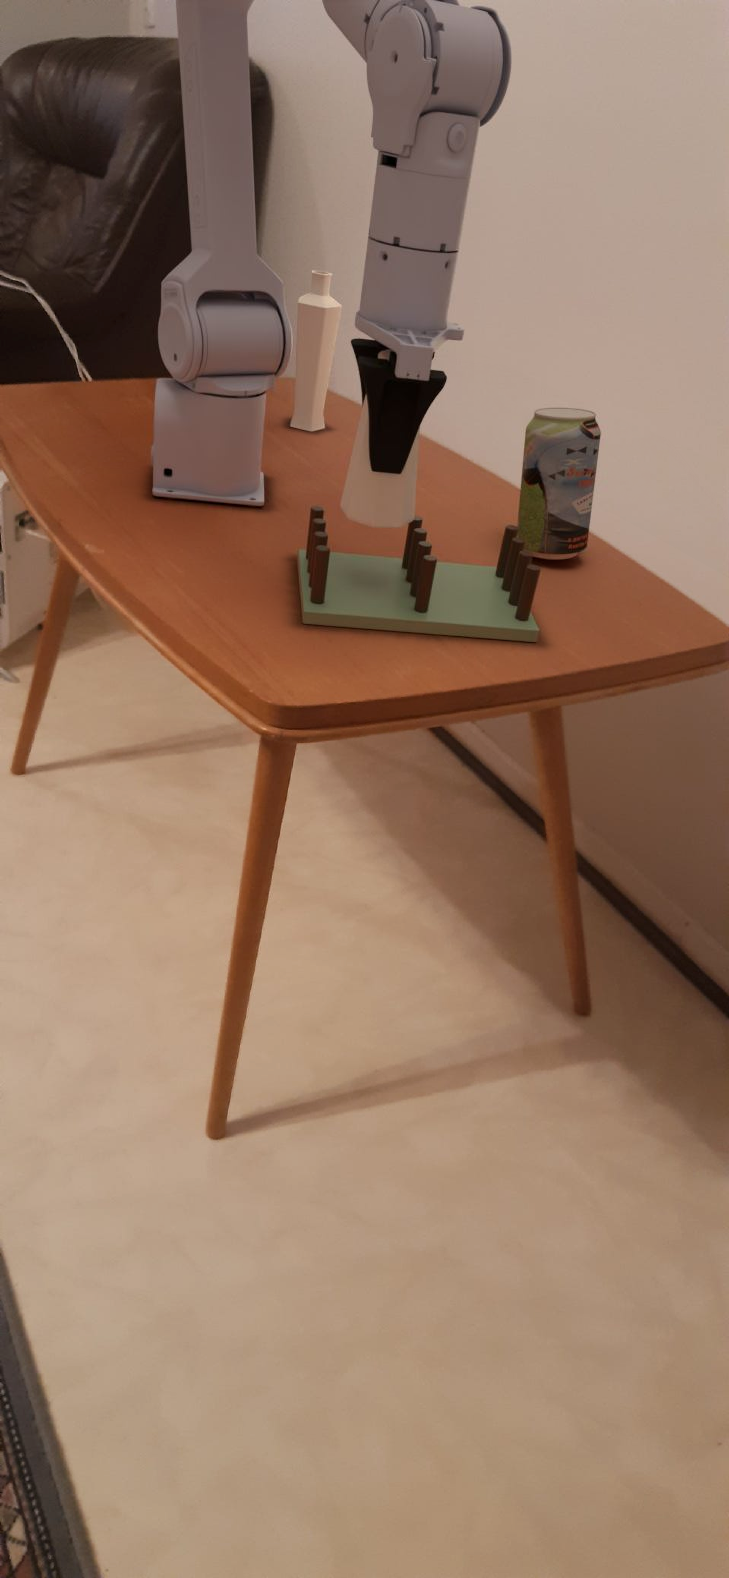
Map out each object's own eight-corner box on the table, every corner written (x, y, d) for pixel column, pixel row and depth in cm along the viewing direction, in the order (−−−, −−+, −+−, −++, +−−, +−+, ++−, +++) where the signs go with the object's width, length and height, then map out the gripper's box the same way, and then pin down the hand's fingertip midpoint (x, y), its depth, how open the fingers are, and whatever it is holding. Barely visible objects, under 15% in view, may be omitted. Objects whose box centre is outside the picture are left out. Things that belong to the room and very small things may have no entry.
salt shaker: (324, 506, 74) (342, 344, 67) (382, 497, 77) (404, 342, 70) (370, 533, 70) (394, 366, 64) (429, 524, 74) (457, 363, 67)
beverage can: (566, 575, 85) (604, 430, 78) (488, 548, 88) (518, 405, 81) (593, 556, 90) (632, 416, 83) (518, 530, 92) (549, 393, 86)
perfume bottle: (327, 434, 108) (344, 280, 100) (286, 429, 108) (299, 273, 100) (329, 422, 112) (346, 272, 104) (289, 417, 112) (302, 265, 103)
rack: (302, 624, 71) (309, 556, 69) (296, 560, 80) (303, 498, 78) (537, 642, 74) (553, 578, 71) (506, 579, 83) (519, 519, 80)
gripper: (498, 272, 58) (455, 503, 66) (457, 235, 70) (424, 435, 78) (376, 256, 57) (347, 493, 65) (355, 221, 69) (332, 425, 77)
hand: (382, 461), depth 71 cm, fingers closed on salt shaker, 4 cm apart
